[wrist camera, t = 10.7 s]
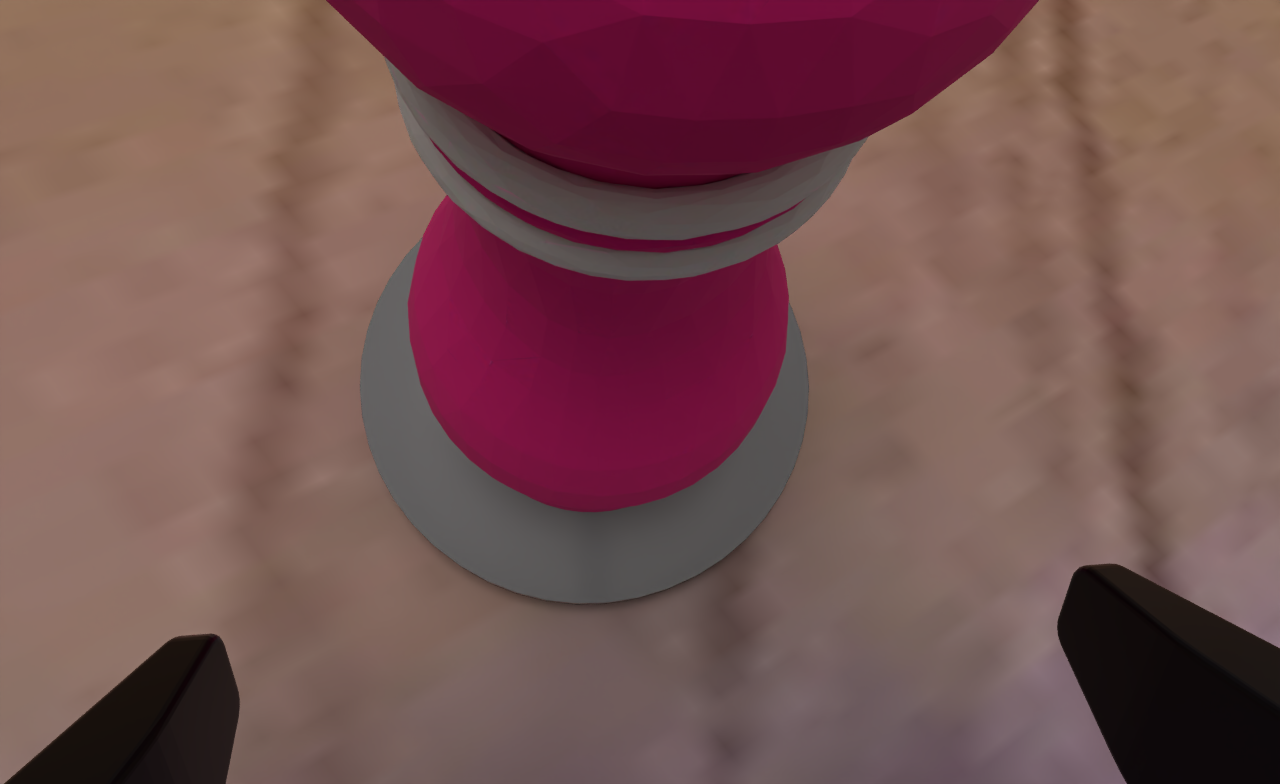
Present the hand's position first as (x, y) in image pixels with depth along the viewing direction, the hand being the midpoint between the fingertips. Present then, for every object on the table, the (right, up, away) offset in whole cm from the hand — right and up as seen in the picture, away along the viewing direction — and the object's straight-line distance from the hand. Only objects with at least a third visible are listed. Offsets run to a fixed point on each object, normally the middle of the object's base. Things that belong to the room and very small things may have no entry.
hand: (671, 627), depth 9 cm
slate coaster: (-2, +3, +13) cm, 14 cm away
